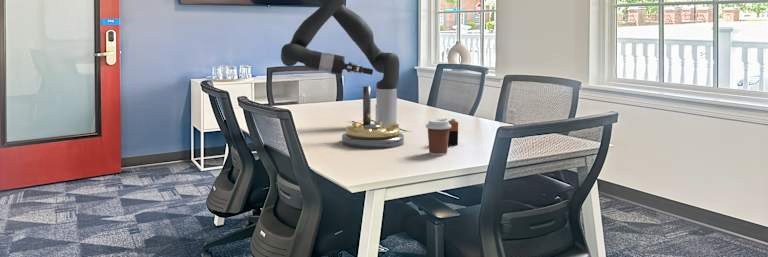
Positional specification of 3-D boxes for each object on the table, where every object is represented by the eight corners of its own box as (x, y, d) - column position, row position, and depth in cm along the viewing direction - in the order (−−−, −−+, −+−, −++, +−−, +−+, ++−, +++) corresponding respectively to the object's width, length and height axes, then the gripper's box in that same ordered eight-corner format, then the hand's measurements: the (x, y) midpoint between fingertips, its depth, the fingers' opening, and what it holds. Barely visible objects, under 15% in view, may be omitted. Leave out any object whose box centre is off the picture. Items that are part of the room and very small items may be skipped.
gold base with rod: (336, 133, 252) (335, 87, 250) (381, 128, 264) (381, 85, 261) (363, 141, 235) (363, 92, 232) (410, 136, 246) (410, 89, 243)
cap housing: (331, 141, 253) (331, 133, 253) (382, 135, 266) (382, 128, 266) (362, 151, 233) (362, 143, 233) (415, 144, 246) (415, 137, 246)
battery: (438, 143, 249) (438, 118, 247) (455, 143, 250) (456, 118, 248) (440, 145, 245) (441, 119, 243) (458, 145, 245) (458, 119, 244)
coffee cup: (449, 151, 234) (449, 118, 232) (452, 156, 225) (453, 122, 223) (424, 151, 234) (424, 118, 232) (426, 156, 225) (427, 122, 223)
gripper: (334, 54, 245) (375, 62, 247) (332, 54, 259) (372, 62, 261) (330, 73, 245) (371, 81, 247) (329, 72, 259) (368, 80, 261)
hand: (371, 72), depth 254 cm, fingers open, 8 cm apart
